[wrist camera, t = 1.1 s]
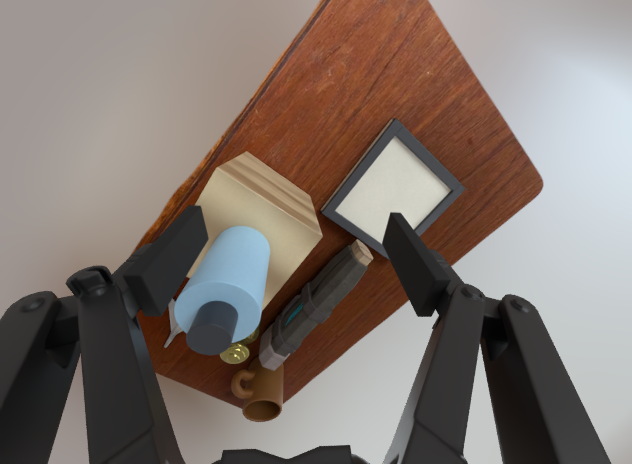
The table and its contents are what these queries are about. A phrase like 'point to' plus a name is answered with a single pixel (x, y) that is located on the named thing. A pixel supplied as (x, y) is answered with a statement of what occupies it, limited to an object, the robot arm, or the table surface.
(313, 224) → the stand
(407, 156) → the whiteboard
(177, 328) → the toy airplane
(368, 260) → the tube
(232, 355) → the brass weight
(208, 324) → the cleaner bottle
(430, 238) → the table surface
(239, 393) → the mug
